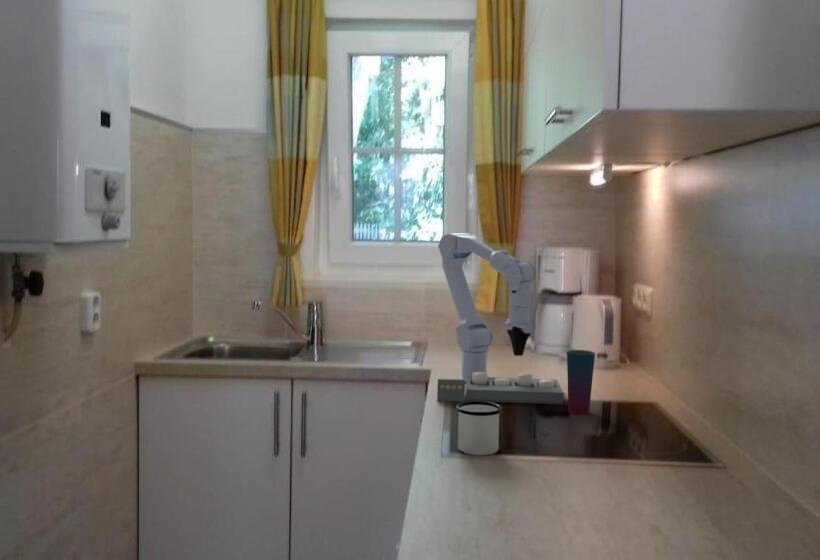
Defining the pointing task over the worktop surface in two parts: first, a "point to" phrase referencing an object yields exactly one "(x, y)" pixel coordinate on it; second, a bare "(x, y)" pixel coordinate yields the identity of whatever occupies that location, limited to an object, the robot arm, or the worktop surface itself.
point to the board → (514, 392)
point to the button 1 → (479, 378)
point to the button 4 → (546, 383)
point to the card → (451, 389)
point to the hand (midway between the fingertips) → (518, 355)
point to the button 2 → (502, 381)
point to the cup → (579, 380)
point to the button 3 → (524, 379)
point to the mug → (478, 427)
